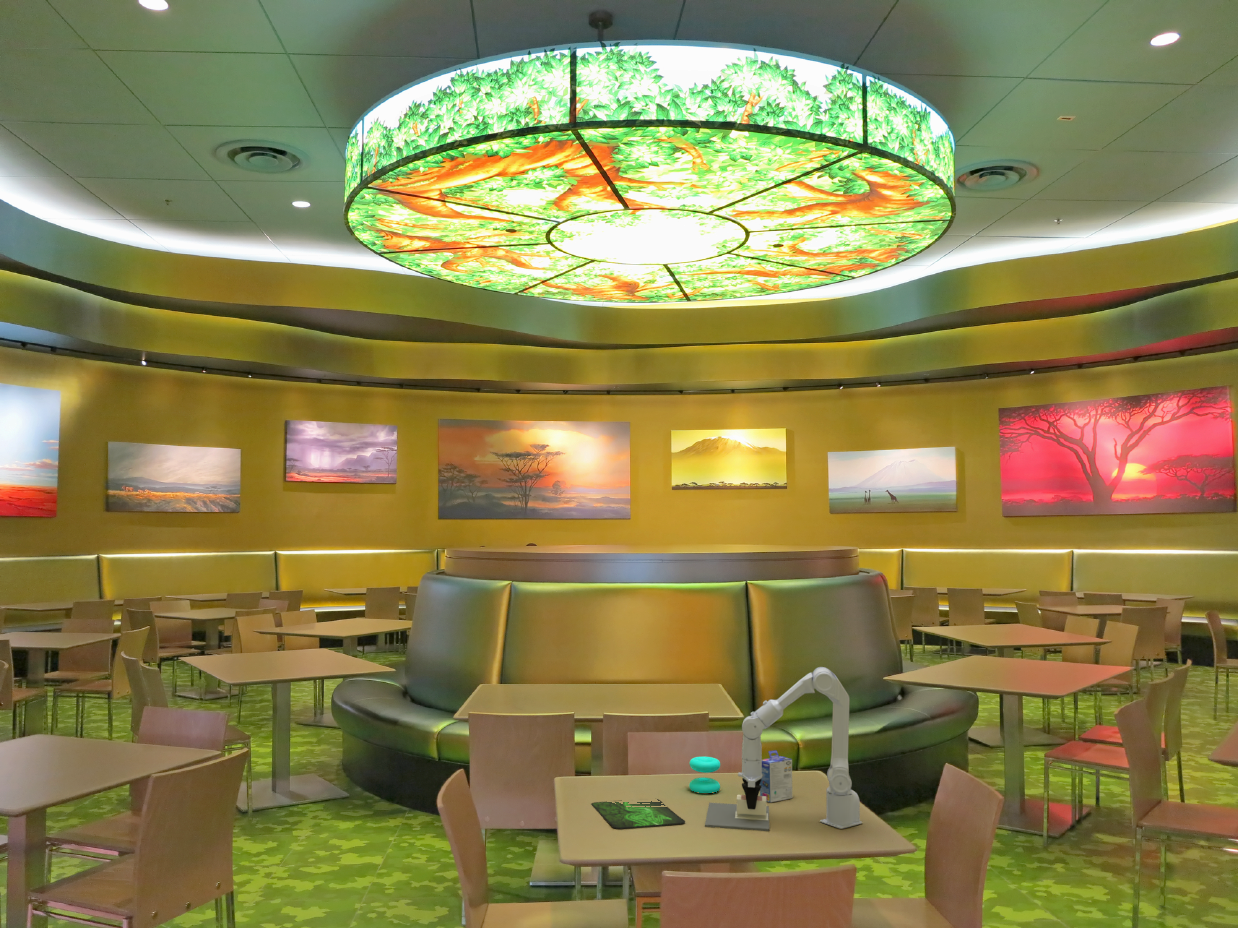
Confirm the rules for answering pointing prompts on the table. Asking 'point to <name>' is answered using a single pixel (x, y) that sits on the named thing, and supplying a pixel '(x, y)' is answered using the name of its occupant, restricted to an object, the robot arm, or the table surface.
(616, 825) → the mouse mat
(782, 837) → the table surface
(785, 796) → the ink cartridge box
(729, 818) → the mat
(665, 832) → the table surface
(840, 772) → the robot arm
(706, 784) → the donuts
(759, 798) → the card deck
